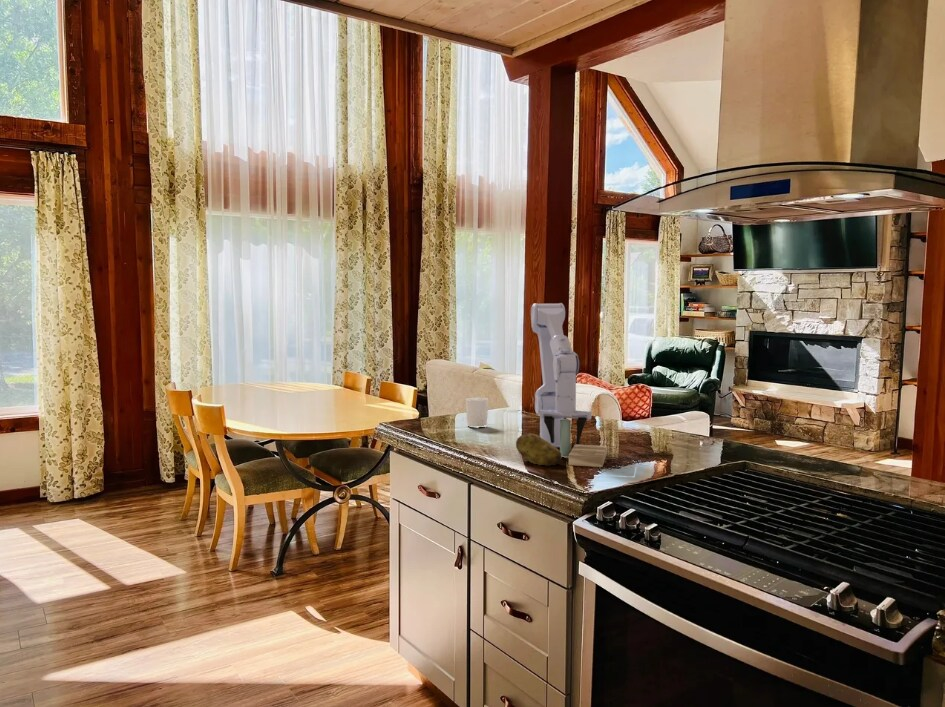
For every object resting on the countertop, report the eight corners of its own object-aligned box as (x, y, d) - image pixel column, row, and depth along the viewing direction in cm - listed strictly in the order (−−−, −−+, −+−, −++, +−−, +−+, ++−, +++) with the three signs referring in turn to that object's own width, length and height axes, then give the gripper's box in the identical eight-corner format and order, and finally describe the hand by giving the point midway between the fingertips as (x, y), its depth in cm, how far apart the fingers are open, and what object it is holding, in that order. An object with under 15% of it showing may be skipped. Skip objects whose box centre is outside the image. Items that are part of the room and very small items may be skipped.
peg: (560, 453, 206) (560, 419, 205) (571, 453, 205) (571, 419, 205) (559, 455, 203) (559, 420, 202) (569, 456, 202) (569, 421, 202)
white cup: (463, 428, 248) (462, 399, 247) (469, 424, 255) (469, 396, 254) (484, 429, 245) (484, 400, 244) (490, 425, 253) (490, 397, 252)
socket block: (574, 454, 206) (574, 444, 205) (606, 456, 203) (606, 446, 203) (568, 465, 192) (568, 454, 192) (602, 467, 190) (602, 456, 190)
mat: (556, 451, 209) (556, 450, 209) (574, 452, 208) (574, 451, 208) (552, 457, 202) (552, 456, 202) (571, 458, 200) (571, 457, 200)
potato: (542, 470, 187) (542, 440, 186) (511, 461, 197) (511, 433, 197) (565, 466, 192) (565, 436, 191) (533, 457, 202) (533, 429, 202)
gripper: (538, 397, 201) (537, 444, 202) (589, 398, 197) (589, 447, 198) (542, 393, 208) (541, 439, 209) (592, 395, 204) (591, 442, 205)
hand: (565, 443), depth 204 cm, fingers open, 7 cm apart
